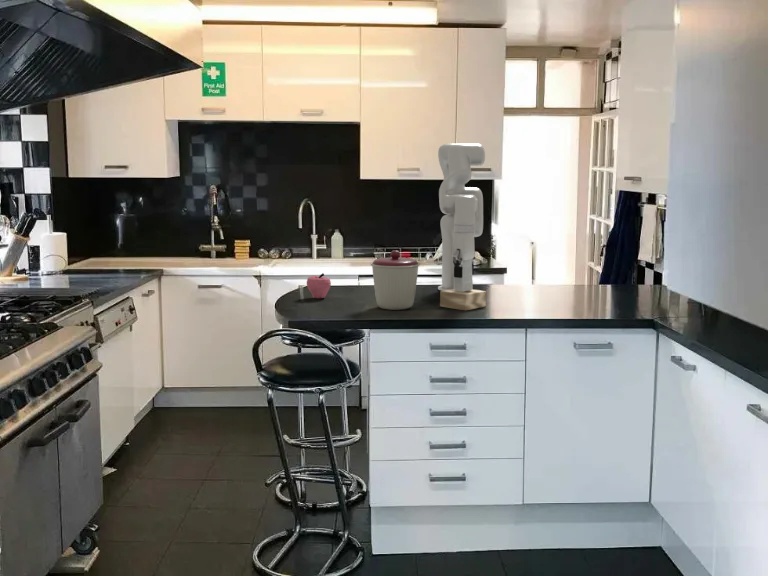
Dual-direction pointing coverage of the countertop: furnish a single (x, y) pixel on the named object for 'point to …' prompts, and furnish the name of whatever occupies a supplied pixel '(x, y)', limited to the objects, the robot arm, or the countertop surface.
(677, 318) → the countertop surface
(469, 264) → the skincare box
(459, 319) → the countertop surface
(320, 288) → the apple
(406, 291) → the canister
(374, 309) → the countertop surface
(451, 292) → the oak block
